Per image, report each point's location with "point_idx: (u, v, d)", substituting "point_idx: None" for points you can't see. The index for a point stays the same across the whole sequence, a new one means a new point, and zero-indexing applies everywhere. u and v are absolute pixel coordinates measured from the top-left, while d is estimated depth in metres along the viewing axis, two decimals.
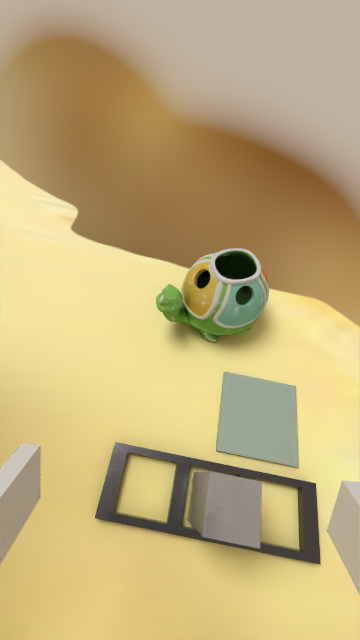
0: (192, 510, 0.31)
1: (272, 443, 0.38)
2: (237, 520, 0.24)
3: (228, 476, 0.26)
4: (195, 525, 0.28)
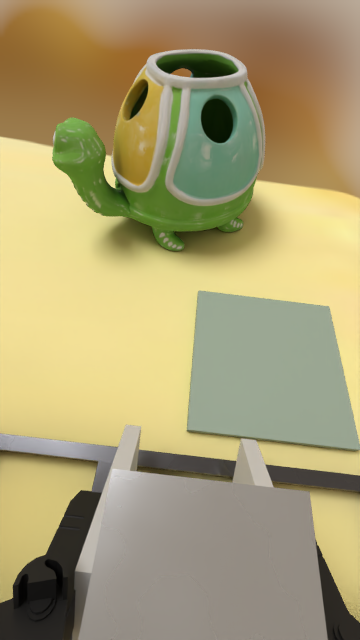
0: None
1: (300, 407, 0.19)
2: None
3: (183, 482, 0.07)
4: None
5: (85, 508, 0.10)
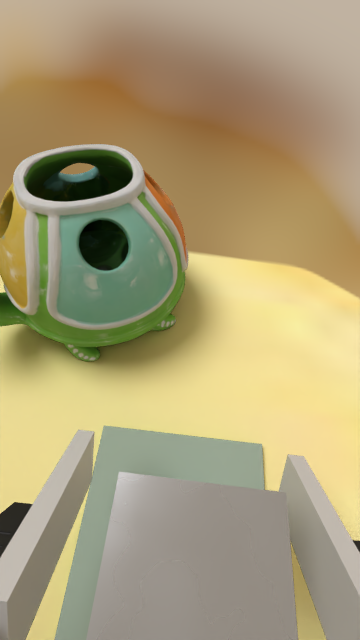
0: None
1: None
2: None
3: (179, 484, 0.08)
4: None
5: (14, 522, 0.09)
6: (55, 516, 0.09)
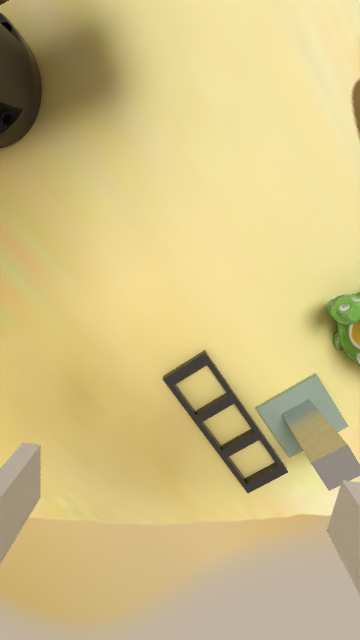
0: (296, 423, 0.42)
1: (290, 436, 0.47)
2: (333, 473, 0.35)
3: (352, 455, 0.35)
4: (299, 439, 0.39)
5: None
6: None
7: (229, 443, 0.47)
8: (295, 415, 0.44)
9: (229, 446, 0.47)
